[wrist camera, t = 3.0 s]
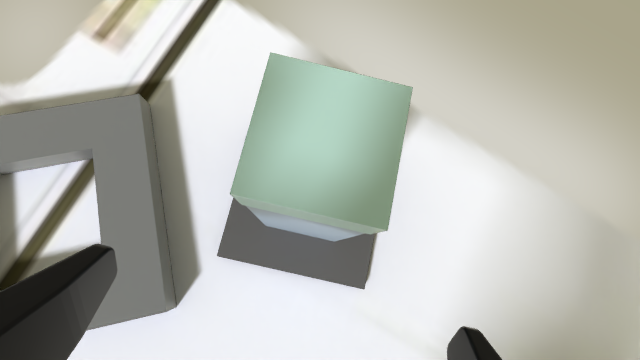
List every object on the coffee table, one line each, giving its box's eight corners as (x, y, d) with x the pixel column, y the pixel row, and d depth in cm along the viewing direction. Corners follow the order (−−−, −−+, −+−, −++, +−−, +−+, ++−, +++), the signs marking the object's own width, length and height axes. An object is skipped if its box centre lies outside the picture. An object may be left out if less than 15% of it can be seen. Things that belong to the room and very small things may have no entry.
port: (176, 307, 18) (164, 312, 17) (-69, 364, 17) (-111, 377, 15) (149, 105, 21) (136, 91, 19) (-69, 140, 19) (-105, 129, 18)
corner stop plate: (362, 288, 19) (372, 293, 17) (218, 255, 19) (207, 256, 17) (387, 151, 21) (400, 139, 19) (257, 120, 21) (252, 103, 19)
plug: (334, 242, 19) (387, 230, 9) (264, 226, 19) (229, 193, 9) (349, 174, 20) (412, 87, 10) (282, 158, 20) (270, 52, 9)
